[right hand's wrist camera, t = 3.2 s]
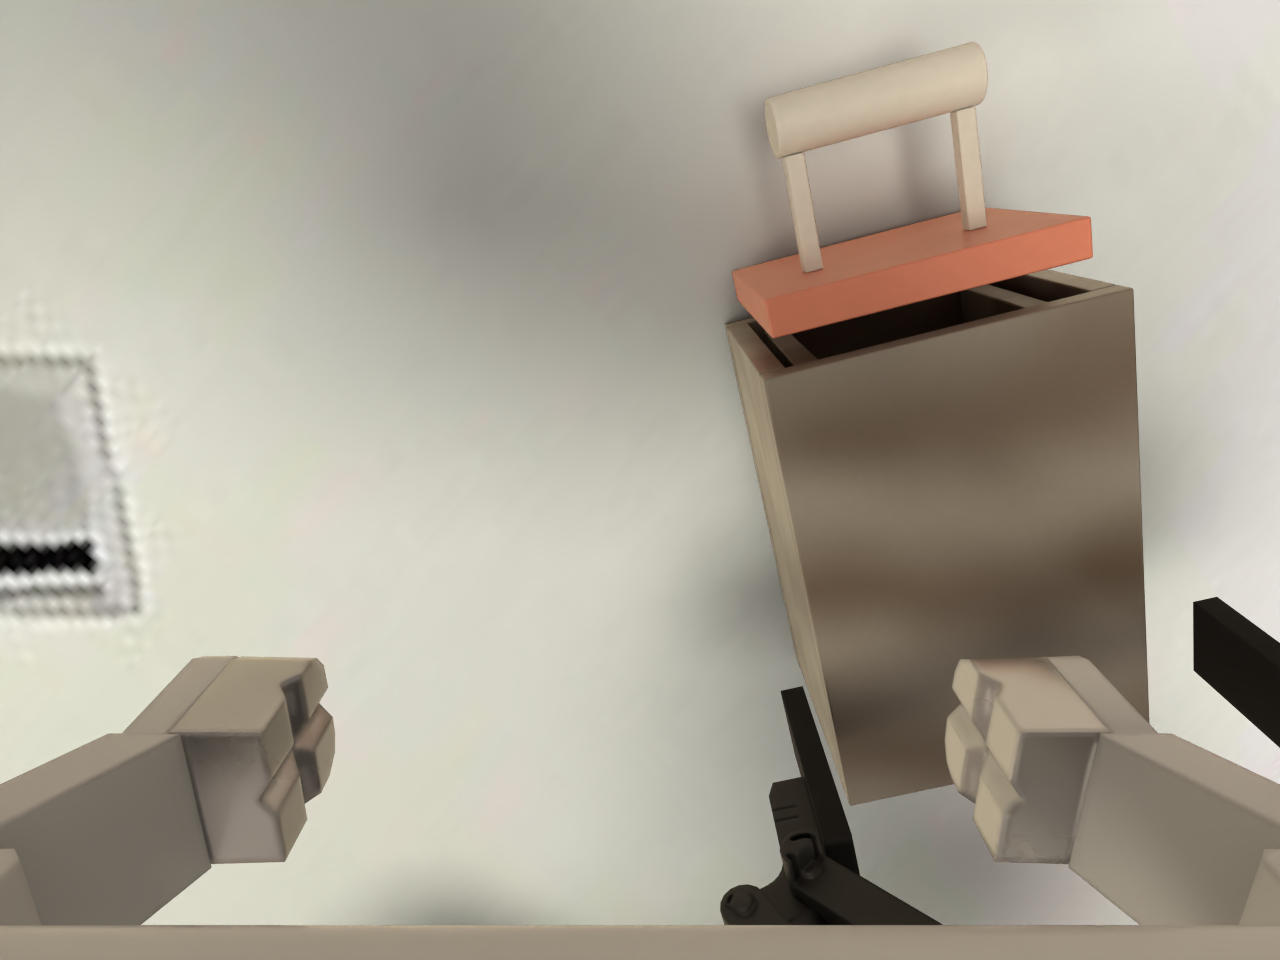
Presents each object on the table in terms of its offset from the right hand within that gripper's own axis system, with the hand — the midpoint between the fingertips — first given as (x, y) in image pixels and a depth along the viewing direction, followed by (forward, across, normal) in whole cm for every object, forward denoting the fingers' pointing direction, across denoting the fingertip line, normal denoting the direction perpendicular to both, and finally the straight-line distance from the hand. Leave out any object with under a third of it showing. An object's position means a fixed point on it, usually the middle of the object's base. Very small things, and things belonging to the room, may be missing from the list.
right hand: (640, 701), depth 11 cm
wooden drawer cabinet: (+24, +11, -6) cm, 27 cm away
